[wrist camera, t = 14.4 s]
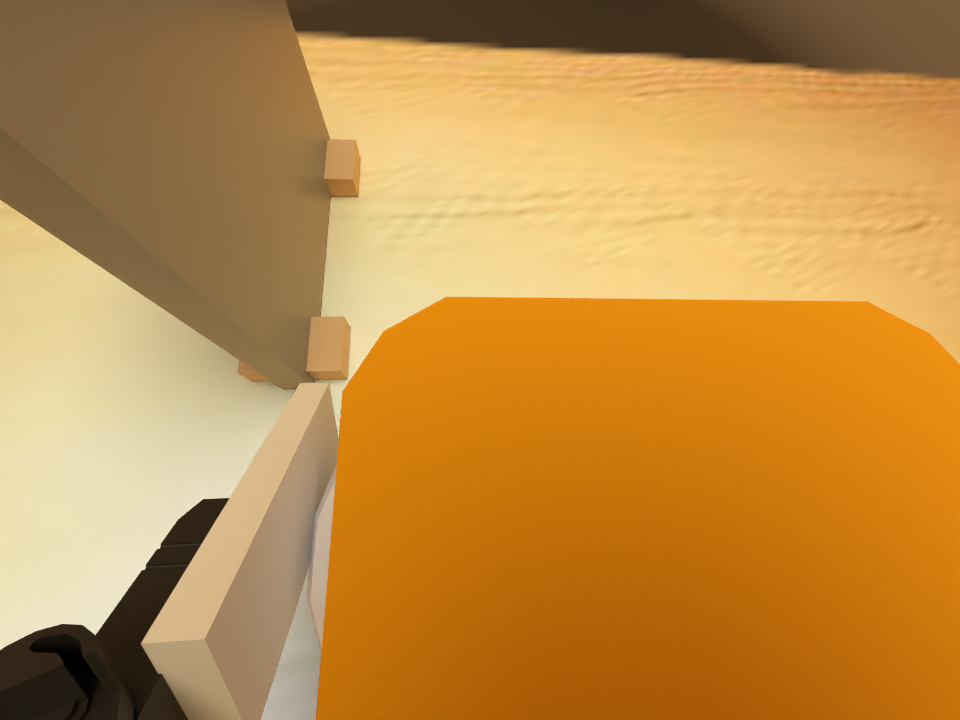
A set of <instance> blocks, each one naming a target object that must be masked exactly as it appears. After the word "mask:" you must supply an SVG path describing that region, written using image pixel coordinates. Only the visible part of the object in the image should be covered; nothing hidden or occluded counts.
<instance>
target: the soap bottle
mask: <svg viewBox="0 0 960 720" xmlns="http://www.w3.org/2000/svg"><path fill="white" fill-rule="evenodd" d="M307 595H308V599H309V603H310V608H311V612H312V616H313V620H314V624H315V628H316V633H317V637H318V641H319V645H320V649H321V663H320V675H319V688H318V700H317V712H316V720H960V364H959V363H958V362H957V361H956V360H955V359H954V358H953V357H952V356H951V355H950V354H949V353H948V352H947V351H946V350H945V349H944V348H943V347H942V346H941V345H940V344H939V343H938V341H937V340H936V339H935V338H934V337H933V336H932V335H931V334H929V333H928V332H926V331H924V330H922V329H920V328H918V327H916V326H914V325H912V324H910V323H908V322H906V321H904V320H902V319H900V318H898V317H896V316H894V315H892V314H890V313H888V312H886V311H884V310H882V309H881V308H879V307H877V306H875V305H873V304H871V303H869V302H849V301H762V300H674V299H587V298H499V297H445V298H443V299H442V300H440V301H438V302H436V303H434V304H432V305H431V306H429V307H427V308H425V309H423V310H422V311H420V312H418V313H416V314H414V315H412V316H411V317H409V318H407V319H405V320H403V321H401V322H400V323H398V324H396V325H394V326H392V327H391V328H389V329H387V330H385V331H384V332H383V333H382V335H381V336H380V337H379V339H378V340H377V342H376V343H375V345H374V346H373V348H372V349H371V351H370V352H369V354H368V355H367V357H366V358H365V359H364V361H363V362H362V364H361V365H360V367H359V368H358V370H357V371H356V373H355V374H354V376H353V377H352V379H351V380H350V381H349V383H348V384H347V386H346V387H345V389H344V390H343V394H342V406H341V419H340V431H339V443H338V455H337V465H336V468H335V470H334V472H333V474H332V477H331V479H330V481H329V484H328V486H327V488H326V490H325V493H324V495H323V497H322V499H321V502H320V504H319V506H318V508H317V511H316V513H315V515H314V525H313V536H312V547H311V558H310V566H309V577H308V587H307Z"/></svg>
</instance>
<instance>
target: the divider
mask: <svg viewBox="0 0 960 720" xmlns="http://www.w3.org/2000/svg"><path fill="white" fill-rule="evenodd" d="M359 174H360V155H359V151H358V147H357V144H356V140H332V139H330V137H329V134H328V131H327V128H326V125H325V122H324V119H323V116H322V113H321V110H320V107H319V104H318V100H317V97H316V94H315V91H314V88H313V85H312V82H311V79H310V76H309V73H308V70H307V67H306V64H305V61H304V58H303V54H302V51H301V48H300V45H299V42H298V39H297V36H296V33H295V30H294V27H293V24H292V21H291V18H290V15H289V12H288V8H287V5H286V2H285V0H0V200H2V201H3V202H5V203H6V204H8V205H9V206H11V207H12V208H14V209H15V210H17V211H18V212H20V213H21V214H23V215H24V216H26V217H27V218H29V219H30V220H32V221H33V222H34V223H36V224H37V225H39V226H40V227H42V228H43V229H45V230H46V231H48V232H49V233H51V234H52V235H54V236H55V237H57V238H58V239H60V240H61V241H63V242H64V243H66V244H67V245H69V246H70V247H72V248H73V249H75V250H76V251H78V252H79V253H81V254H82V255H84V256H85V257H87V258H88V259H90V260H91V261H93V262H94V263H96V264H97V265H99V266H100V267H102V268H103V269H105V270H106V271H108V272H109V273H111V274H112V275H114V276H115V277H117V278H118V279H120V280H121V281H123V282H124V283H126V284H127V285H129V286H130V287H132V288H133V289H135V290H136V291H138V292H139V293H141V294H142V295H143V296H145V297H146V298H148V299H149V300H151V301H152V302H154V303H155V304H157V305H158V306H160V307H161V308H163V309H164V310H166V311H167V312H169V313H170V314H172V315H173V316H175V317H176V318H178V319H179V320H181V321H182V322H184V323H185V324H187V325H188V326H190V327H191V328H193V329H194V330H196V331H197V332H199V333H200V334H202V335H203V336H205V337H206V338H208V339H209V340H211V341H212V342H214V343H215V344H217V345H218V346H220V347H221V348H223V349H224V350H226V351H227V352H229V353H230V354H232V355H233V356H235V357H236V358H238V359H239V360H240V362H239V369H238V373H239V374H241V375H242V376H244V377H246V378H247V379H249V380H251V381H272V382H273V383H275V384H276V385H278V386H279V387H281V388H282V389H297V387H298V385H299V384H300V383H315V380H316V379H348V362H349V344H350V326H349V324H348V322H347V321H346V319H345V317H321V305H322V293H323V281H324V269H325V257H326V245H327V234H328V222H329V210H330V198H331V196H358V191H359Z"/></svg>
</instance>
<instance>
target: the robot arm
mask: <svg viewBox="0 0 960 720" xmlns="http://www.w3.org/2000/svg"><path fill="white" fill-rule="evenodd" d="M338 443H339V440H338V434H337V428H336V422H335V416H334V409H333V403H332V397H331V391H330V385H329V382H327V383H300V384H299V385H298V387H297V389H296V390H295V392H294V394H293V395H292V397H291V398H290V400H289V402H288V403H287V405H286V407H285V408H284V410H283V412H282V413H281V415H280V416H279V418H278V420H277V421H276V423H275V425H274V426H273V428H272V430H271V431H270V433H269V435H268V436H267V438H266V439H265V441H264V443H263V444H262V446H261V448H260V449H259V451H258V453H257V454H256V456H255V457H254V459H253V461H252V462H251V464H250V466H249V467H248V469H247V471H246V472H245V474H244V475H243V477H242V479H241V480H240V482H239V484H238V485H237V487H236V489H235V490H234V492H233V493H232V495H231V497H230V498H221V499H203V500H202V501H201V502H199V503H198V504H197V505H196V506H194V507H193V508H192V509H191V510H190V511H188V512H187V513H186V514H185V515H183V516H182V517H181V518H180V519H179V520H178V521H177V522H176V524H175V525H174V526H173V528H172V529H171V531H170V532H169V533H168V535H167V536H166V538H165V539H164V540H163V542H162V543H161V547H160V549H157V550H156V552H155V553H154V554H153V556H152V557H151V558H150V560H149V561H148V563H147V564H146V569H145V570H142V571H141V572H140V574H139V575H138V577H137V578H136V579H135V581H134V582H133V584H132V585H131V586H130V588H129V589H128V591H127V592H126V593H125V595H124V596H123V598H122V599H121V600H120V602H119V603H118V605H117V606H116V607H115V609H114V610H113V612H112V613H111V614H110V616H109V617H108V619H107V620H106V621H105V623H104V624H103V626H102V627H101V628H100V630H99V631H98V633H97V634H96V635H94V634H93V633H92V632H91V631H89V630H88V629H87V628H85V627H84V626H83V625H70V624H61V625H57V626H54V627H50V628H46V629H43V630H39V631H36V632H34V633H32V634H30V635H28V636H26V637H24V638H22V639H20V640H18V641H16V642H14V643H12V644H10V645H8V646H6V647H4V648H3V649H2V650H0V720H260V719H261V716H262V713H263V710H264V706H265V703H266V700H267V697H268V694H269V691H270V688H271V684H272V681H273V678H274V675H275V672H276V669H277V666H278V662H279V659H280V656H281V653H282V650H283V647H284V643H285V640H286V637H287V634H288V631H289V628H290V625H291V621H292V618H293V615H294V612H295V609H296V606H297V603H298V599H299V596H300V593H301V590H302V587H303V584H304V581H305V577H306V574H307V571H308V568H309V565H310V558H311V547H312V536H313V525H314V515H315V513H316V511H317V508H318V506H319V504H320V502H321V499H322V497H323V495H324V493H325V490H326V488H327V486H328V484H329V481H330V479H331V477H332V474H333V472H334V470H335V468H336V465H337V455H338Z"/></svg>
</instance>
